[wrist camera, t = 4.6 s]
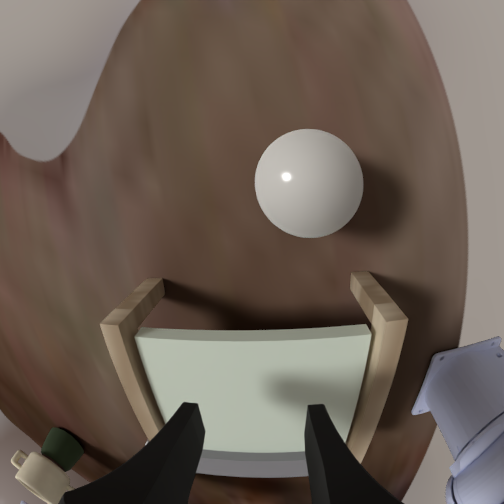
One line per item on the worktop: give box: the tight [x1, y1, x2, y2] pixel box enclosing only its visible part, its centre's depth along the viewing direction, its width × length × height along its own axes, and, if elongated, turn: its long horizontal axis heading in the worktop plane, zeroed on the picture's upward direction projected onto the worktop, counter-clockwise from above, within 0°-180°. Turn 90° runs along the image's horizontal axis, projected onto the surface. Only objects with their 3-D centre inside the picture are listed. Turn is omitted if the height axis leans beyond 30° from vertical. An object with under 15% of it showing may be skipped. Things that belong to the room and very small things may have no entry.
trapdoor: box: [134, 324, 372, 478], centre depth 15 cm, size 13×12×2 cm
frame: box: [100, 271, 408, 464], centre depth 17 cm, size 15×16×7 cm
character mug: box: [11, 427, 84, 504], centre depth 22 cm, size 11×7×13 cm, turn 60°
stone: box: [255, 129, 363, 238], centre depth 14 cm, size 5×5×5 cm
